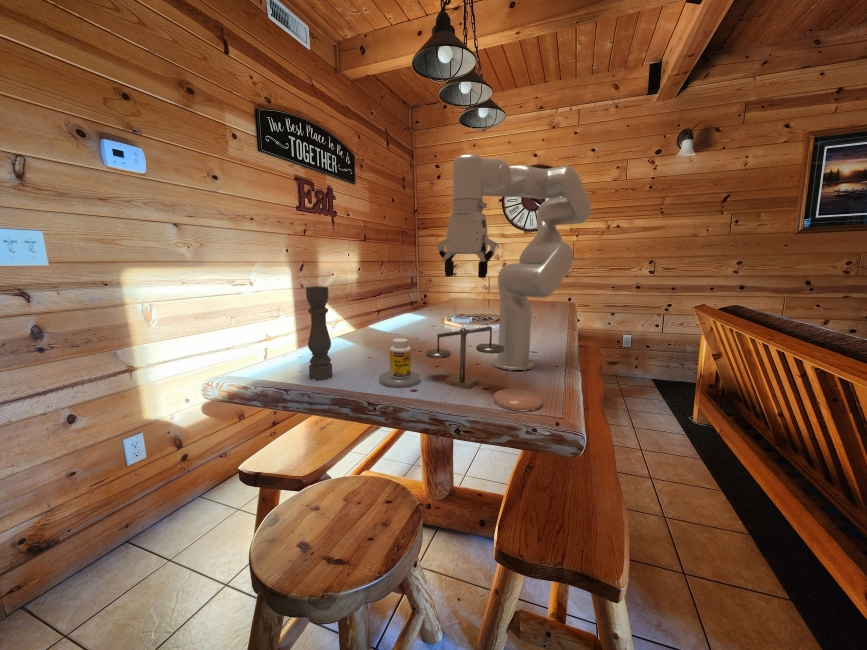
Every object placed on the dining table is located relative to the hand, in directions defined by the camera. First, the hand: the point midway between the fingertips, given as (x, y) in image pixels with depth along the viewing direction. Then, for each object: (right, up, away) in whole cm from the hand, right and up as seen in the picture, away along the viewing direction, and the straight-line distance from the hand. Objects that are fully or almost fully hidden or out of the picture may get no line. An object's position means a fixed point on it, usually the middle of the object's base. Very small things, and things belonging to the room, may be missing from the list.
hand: (465, 276), depth 96 cm
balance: (-1, -28, +3) cm, 28 cm away
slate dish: (-17, -28, +4) cm, 33 cm away
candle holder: (-40, -27, +7) cm, 49 cm away
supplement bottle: (-17, -27, +4) cm, 32 cm away
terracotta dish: (+11, -31, -10) cm, 34 cm away
